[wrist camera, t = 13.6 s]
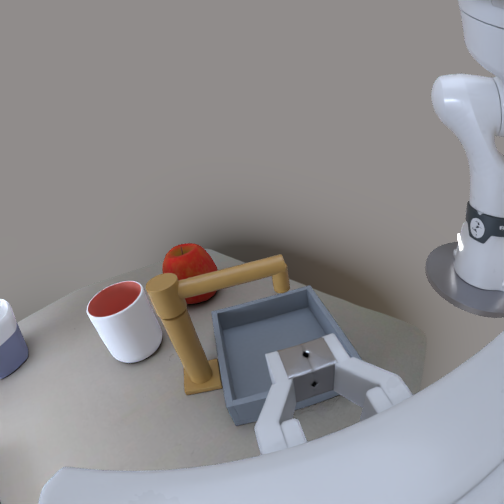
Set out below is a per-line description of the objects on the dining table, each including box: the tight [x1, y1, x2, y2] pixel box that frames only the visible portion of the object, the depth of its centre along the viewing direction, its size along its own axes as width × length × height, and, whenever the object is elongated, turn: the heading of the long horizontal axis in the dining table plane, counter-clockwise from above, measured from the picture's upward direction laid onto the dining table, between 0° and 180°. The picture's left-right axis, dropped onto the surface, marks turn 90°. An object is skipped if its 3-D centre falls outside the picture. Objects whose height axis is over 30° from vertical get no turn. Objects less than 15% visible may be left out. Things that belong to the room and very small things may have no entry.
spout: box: [146, 255, 290, 319], centre depth 30 cm, size 15×4×5 cm, turn 102°
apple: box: [163, 244, 218, 304], centre depth 53 cm, size 11×11×11 cm
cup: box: [87, 281, 162, 363], centre depth 41 cm, size 10×10×10 cm
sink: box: [212, 285, 363, 426], centre depth 35 cm, size 16×18×4 cm
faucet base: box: [161, 308, 223, 395], centre depth 33 cm, size 5×5×12 cm
